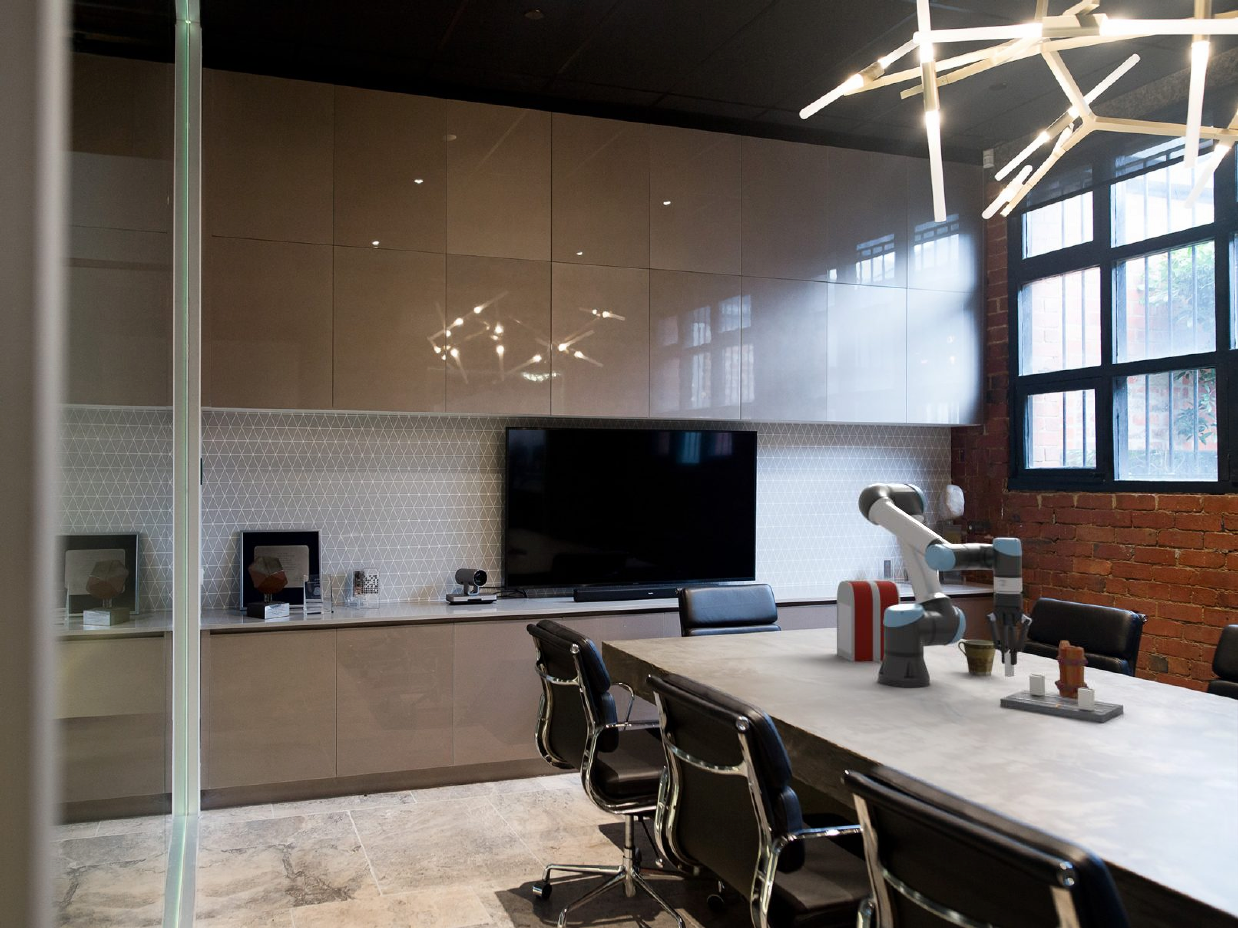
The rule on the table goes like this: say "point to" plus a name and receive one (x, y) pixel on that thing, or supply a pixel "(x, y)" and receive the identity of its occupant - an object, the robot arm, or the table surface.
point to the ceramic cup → (979, 656)
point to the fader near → (1085, 698)
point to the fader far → (1037, 684)
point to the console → (1061, 706)
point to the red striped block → (863, 618)
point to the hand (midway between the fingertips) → (1009, 675)
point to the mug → (1070, 669)
